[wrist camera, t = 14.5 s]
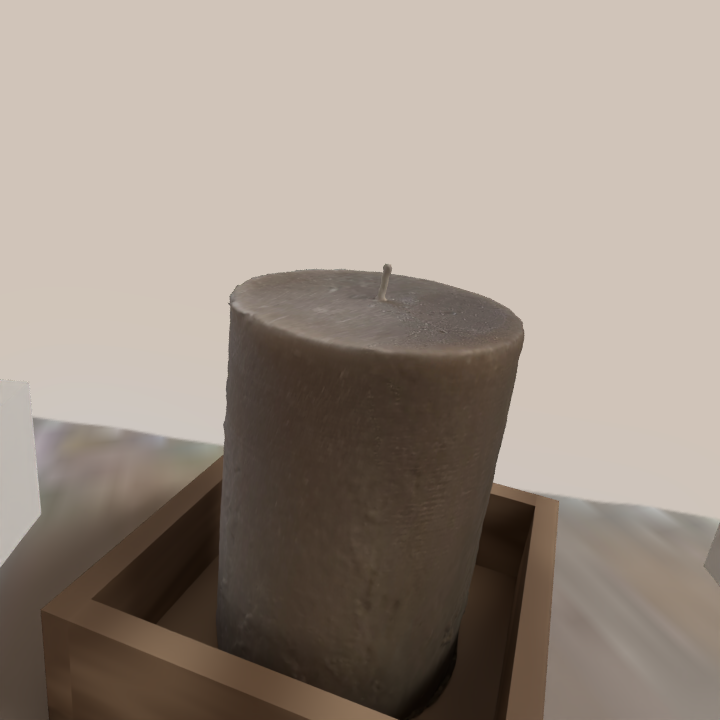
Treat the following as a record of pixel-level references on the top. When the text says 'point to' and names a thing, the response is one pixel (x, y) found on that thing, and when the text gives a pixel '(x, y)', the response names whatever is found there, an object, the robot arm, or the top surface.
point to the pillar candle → (358, 476)
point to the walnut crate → (259, 684)
